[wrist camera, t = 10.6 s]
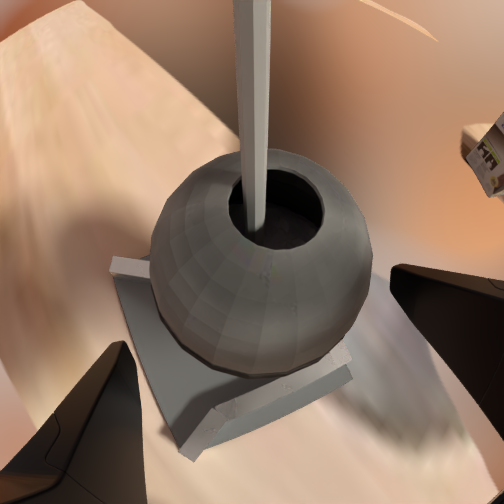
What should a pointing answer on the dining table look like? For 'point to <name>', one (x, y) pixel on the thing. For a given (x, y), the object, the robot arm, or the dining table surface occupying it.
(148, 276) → the flared docking tray
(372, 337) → the dining table surface
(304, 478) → the dining table surface
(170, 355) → the gray raised edge tray
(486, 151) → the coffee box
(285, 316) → the beverage cup
